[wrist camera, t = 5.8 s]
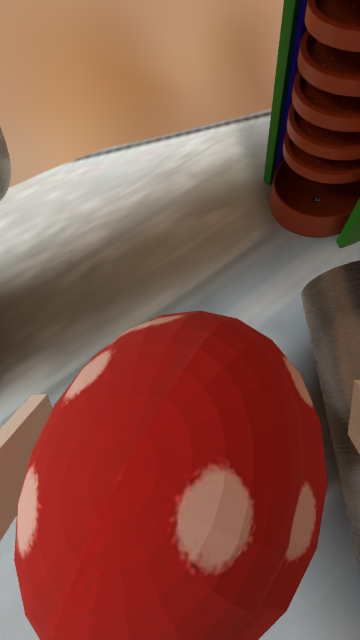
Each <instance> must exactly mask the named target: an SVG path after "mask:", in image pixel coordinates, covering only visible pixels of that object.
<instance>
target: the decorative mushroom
mask: <svg viewBox="0 0 360 640" xmlns="http://www.w3.org/2000/svg"><path fill="white" fill-rule="evenodd" d="M326 489H327V474H326V465H325V456H324V447H323V438H322V429H321V422H320V420H319V417H318V415H317V413H316V410H315V408H314V405H313V403H312V400H311V398H310V396H309V393H308V391H307V388H306V386H305V384H304V381H303V379H302V376H301V374H300V373H299V372H298V371H297V370H296V368H295V367H294V366H293V365H292V364H291V362H290V361H289V360H288V359H287V358H286V356H285V355H284V354H283V353H282V352H281V350H280V349H279V348H278V347H277V346H276V344H275V343H274V342H273V341H272V340H271V339H270V338H268V337H266V336H265V335H263V334H261V333H260V332H258V331H256V330H255V329H253V328H252V327H250V326H248V325H247V324H245V323H243V322H242V321H240V320H239V319H236V318H231V317H227V316H222V315H218V314H213V313H208V312H204V311H194V312H185V313H176V314H167V315H162V316H159V317H157V318H155V319H152V320H150V321H148V322H145V323H143V324H141V325H138V326H136V327H134V328H131V329H129V330H127V331H126V332H124V333H123V334H122V335H121V336H119V337H118V338H117V339H115V340H114V341H113V342H112V343H110V344H109V345H108V346H107V347H105V348H104V349H103V350H102V351H100V352H99V353H98V354H96V355H95V356H94V357H93V358H92V360H91V361H90V362H89V363H88V364H87V365H86V366H84V368H83V369H82V370H81V372H80V373H79V374H78V375H77V377H76V378H75V379H74V381H73V382H72V383H71V384H70V386H69V387H68V388H67V390H66V391H65V392H64V394H63V395H62V396H61V397H60V399H59V400H58V401H57V403H56V404H55V406H54V408H53V410H52V412H51V414H50V416H49V418H48V420H47V422H46V424H45V426H44V428H43V430H42V432H41V434H40V436H39V438H38V440H37V442H36V444H35V446H34V448H33V450H32V453H31V457H30V460H29V464H28V468H27V471H26V475H25V478H24V482H23V486H22V489H21V493H20V497H19V500H18V505H17V522H16V540H15V558H14V561H15V566H16V571H17V576H18V581H19V586H20V591H21V596H22V601H23V606H24V610H25V615H26V617H27V619H28V620H29V622H30V624H31V625H32V627H33V629H34V630H35V632H36V634H37V635H38V637H39V639H40V640H258V639H259V638H260V637H261V636H262V635H263V634H264V633H265V632H266V631H267V630H268V629H269V628H270V627H271V626H272V625H273V624H274V623H275V622H276V621H277V620H278V619H279V618H280V617H281V616H282V615H283V614H284V613H285V612H286V611H287V609H288V607H289V605H290V603H291V601H292V598H293V596H294V594H295V592H296V590H297V588H298V586H299V584H300V582H301V580H302V578H303V576H304V574H305V572H306V570H307V567H308V565H309V563H310V561H311V559H312V557H313V555H314V553H315V551H316V549H317V543H318V537H319V531H320V525H321V519H322V513H323V507H324V501H325V495H326Z"/></svg>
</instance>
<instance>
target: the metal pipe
mask: <svg viewBox="0 0 360 640" xmlns="http://www.w3.org/2000/svg"><path fill="white" fill-rule="evenodd" d="M301 297H302V302H303V306H304V311H305V316H306V320H307V325H308V330H309V335H310V339H311V344H312V349H313V353H314V358H315V363H316V368H317V372H318V377H319V382H320V386H321V391H322V396H323V401H324V405H325V410H326V415H327V419H328V424H329V429H330V434H331V438H332V443H333V448H334V452H335V457H336V462H337V467H338V471H339V476H340V481H341V485H342V490H343V495H344V499H345V504H346V509H347V514H348V518H349V523H350V528H351V532H352V537H353V542H354V547H355V551H356V556H357V561H358V565H359V570H360V454H359V453H358V451H357V449H356V448H355V446H354V444H353V442H352V441H351V439H350V437H349V436H348V428H349V419H350V411H351V403H352V394H353V386H354V380H360V260H359V261H355V262H351V263H348V264H345V265H342V266H339V267H336V268H334V269H331V270H329V271H327V272H325V273H323V274H321V275H319V276H318V277H316V278H314V279H313V280H312V281H310V282H309V283H308V284H307V285H306V286H305V287H304V289H303V290H302V293H301Z"/></svg>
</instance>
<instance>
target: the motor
mask: <svg viewBox="0 0 360 640" xmlns="http://www.w3.org/2000/svg"><path fill="white" fill-rule="evenodd" d="M280 33H281V34H280V41H279V50H278V59H277V68H276V77H275V85H274V95H273V103H272V112H271V121H270V129H269V138H268V147H267V156H266V165H265V173H264V182H265V183H268V184H270V183H271V182H272V181H273V184H272V191H271V198H270V208H271V211H272V214H273V216H274V217H275V219H276V220H277V221H278V222H279V223H280V224H281V225H282V226H283V227H284V228H286V229H287V230H289V231H291V232H293V233H296V234H299V235H302V236H307V237H329V236H334V235H337V234H340V233H341V234H340V236H339V237H338V239H337V243H338V246H339V248H341V247H345V246H348V245H351V244H353V243H355V242H357V241H359V240H360V0H284V6H283V15H282V24H281V32H280ZM314 198H319V199H320V202H315V201H314V200H313V199H314Z"/></svg>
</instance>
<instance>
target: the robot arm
mask: <svg viewBox="0 0 360 640" xmlns="http://www.w3.org/2000/svg"><path fill="white" fill-rule="evenodd" d="M10 179H11V164H10V158H9V153H8V149H7V145H6V142H5V139H4V136H3V133H2V130H1V128H0V201H1V200H2V198H3V197H4V196H5V194H6V192H7V190H8V188H9V185H10ZM52 410H53V408H52V405H51V402H50V400H49V397H48V395H47V394H35V395H31V397H30V398H29V399H28V400H27V401H26V402H25V403H24V404H23V405H22V406H21V407H20V408H19V409H18V410H17V411H16V412H15V413H14V415H13V416H12V417H11V418H10V419H9V420H8V421H7V422H6V423H5V424H4V425H3V426H2V427H1V428H0V541H1V539H2V538H3V536H4V534H5V533H6V531H7V530H8V528H9V527H10V525H11V523H12V522H13V520H14V519H15V517H16V515H17V505H18V500H19V497H20V493H21V489H22V486H23V482H24V478H25V475H26V471H27V468H28V464H29V460H30V457H31V453H32V450H33V448H34V446H35V444H36V442H37V440H38V438H39V436H40V434H41V432H42V430H43V428H44V426H45V424H46V422H47V420H48V418H49V416H50V414H51V412H52ZM348 436H349V437H350V439H351V441H352V442H353V444H354V446H355V448H356V449H357V451H358V453H359V454H360V380H354V386H353V394H352V403H351V411H350V419H349V428H348Z"/></svg>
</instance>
